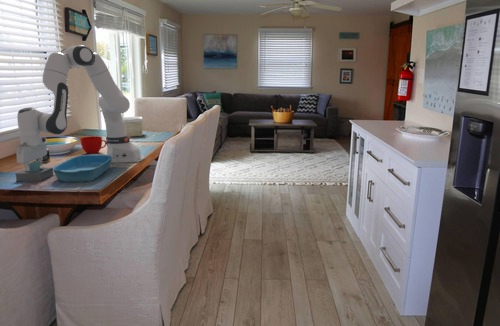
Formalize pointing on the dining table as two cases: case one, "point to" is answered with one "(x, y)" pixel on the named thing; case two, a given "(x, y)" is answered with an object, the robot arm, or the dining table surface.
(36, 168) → the block
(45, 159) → the medicine bottle
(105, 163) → the casserole dish
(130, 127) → the storage basket
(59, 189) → the dining table surface
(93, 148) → the ceramic cup
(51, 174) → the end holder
